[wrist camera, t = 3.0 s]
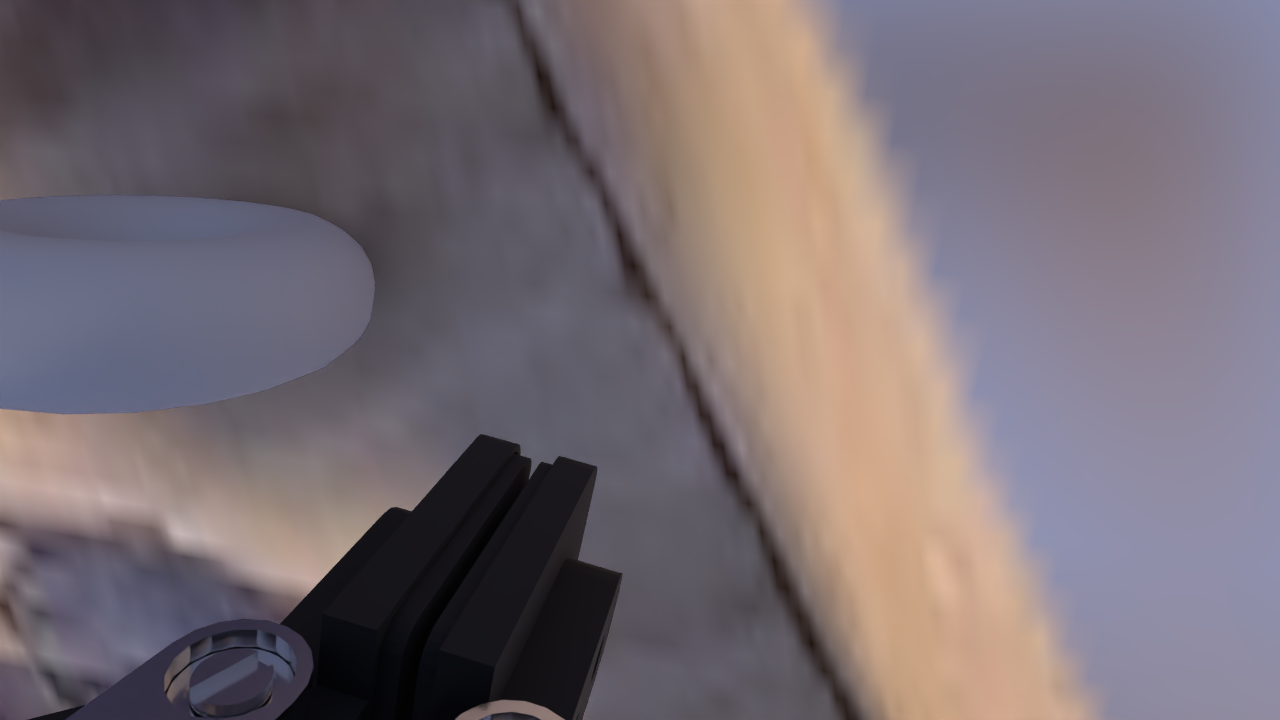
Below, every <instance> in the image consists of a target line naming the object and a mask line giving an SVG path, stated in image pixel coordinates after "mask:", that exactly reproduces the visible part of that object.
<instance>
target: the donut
mask: <svg viewBox="0 0 1280 720" xmlns="http://www.w3.org/2000/svg"><path fill="white" fill-rule="evenodd" d="M374 292H375V280H374V274H373V269H372V264H371V262H370V261H369V259H368V257H367V255H366V254H365V252H364V250H363V248H362V246H360V245H359V244H358V243H357V242H356V241H355V240H354V239H353V238H352V237H351V236H350V235H349V234H348V233H346V232H345V231H344V230H342V229H340V228H339V227H337V226H336V225H334V224H332V223H331V222H328V221H326V220H324V219H322V218H320V217H318V216H316V215H314V214H310V213H306V212H302V211H299V210H295V209H291V208H286V207H279V206H273V205H266V204H259V203H253V202H243V201H232V200H221V199H210V198H197V197H176V196H155V195H85V196H53V197H38V198H24V199H9V200H0V409H10V410H22V411H33V412H44V413H55V414H94V413H134V412H144V411H152V410H160V409H169V408H177V407H185V406H193V405H202V404H208V403H213V402H217V401H221V400H226V399H230V398H235V397H239V396H243V395H248V394H252V393H257V392H261V391H265V390H268V389H270V388H273V387H275V386H278V385H281V384H283V383H286V382H288V381H291V380H294V379H296V378H299V377H301V376H304V375H307V374H309V373H312V372H314V371H317V370H320V369H322V368H324V367H325V366H326V365H328V364H329V363H330V362H332V361H333V360H334V359H336V358H337V357H338V356H340V355H341V354H342V353H344V352H345V351H346V350H347V349H348V348H350V347H351V346H352V345H353V344H354V343H355V342H356V341H357V340H358V339H360V338H361V336H362V334H363V333H364V331H365V329H366V327H367V325H368V323H369V322H370V320H371V314H372V307H373V301H374Z"/></svg>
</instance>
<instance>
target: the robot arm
mask: <svg viewBox="0 0 1280 720" xmlns="http://www.w3.org/2000/svg"><path fill="white" fill-rule="evenodd" d="M530 470H531V459H530V458H527V457H523V456H520V445H519V444H515V443H512V442H508V441H505V440H501V439H497V438H494V437H490V436H487V435H483V434H481V435H479V436H478V437H477V438H476V439H475V440H474V442H473V443H472V444H471V445H470V446H469V447H468V448H467V449H466V451H465V452H464V453H463V454H462V455H461V456H460V457H459V459H458V460H457V461H456V462H455V463H454V464H453V465H452V467H451V468H450V469H449V470H448V471H447V472H446V473H445V475H444V476H443V477H442V478H441V479H440V480H439V481H438V482H437V484H436V485H435V486H434V487H433V488H432V489H431V490H430V492H429V493H428V494H427V495H426V496H425V497H424V498H423V500H422V501H421V502H420V503H419V504H418V505H417V506H416V508H415V509H414V510H413V511H412V512H411V511H408V510H405V509H401V508H398V507H394V508H390V509H389V510H388V511H387V512H385V513H384V514H383V515H382V516H381V517H380V518H379V519H378V520H377V521H376V523H375V524H374V525H373V526H372V527H371V528H370V529H369V530H368V531H367V532H366V533H365V534H364V535H363V536H362V537H361V538H360V540H359V541H358V542H357V543H356V544H355V545H354V546H353V547H352V548H351V549H350V550H349V551H348V552H347V553H346V554H345V555H344V557H343V558H342V559H341V560H340V561H339V562H338V563H337V564H336V565H335V566H334V567H333V568H332V569H331V570H330V571H329V573H328V574H327V575H326V576H325V577H324V578H323V579H322V580H321V581H320V582H319V583H318V584H317V585H316V586H315V587H314V588H313V590H312V591H311V592H310V593H309V594H308V595H307V596H306V597H305V598H304V599H303V600H302V601H301V602H300V603H299V604H298V605H297V607H296V608H295V609H294V610H293V611H292V612H291V613H290V614H289V615H288V616H287V617H286V618H285V619H284V620H283V621H282V622H281V624H278V623H274V622H271V621H268V620H255V619H238V620H231V621H223V622H218V623H215V624H212V625H209V626H206V627H203V628H199V629H196V630H194V631H192V632H191V633H189V634H187V635H185V636H183V637H182V638H180V639H178V640H176V641H175V642H173V643H172V644H170V645H169V646H167V647H166V648H165V649H163V650H162V651H160V652H159V653H158V654H156V655H155V656H153V657H152V658H151V659H149V660H148V661H146V662H145V663H144V664H142V665H141V666H139V667H138V668H137V669H135V670H134V671H132V672H131V673H130V674H128V675H127V676H125V677H124V678H123V679H121V680H120V681H118V682H117V683H116V684H114V685H113V686H111V687H110V688H109V689H107V690H106V691H104V692H103V693H102V694H100V695H99V696H97V697H96V698H95V699H93V700H92V701H90V702H89V703H88V704H86V705H83V706H79V707H76V708H72V709H68V710H64V711H60V712H56V713H52V714H48V715H44V716H40V717H36V718H32V719H28V720H582V718H583V715H584V712H585V709H586V706H587V703H588V699H589V696H590V693H591V690H592V687H593V684H594V681H595V677H596V674H597V671H598V667H599V664H600V661H601V657H602V654H603V650H604V647H605V643H606V639H607V636H608V632H609V628H610V624H611V621H612V617H613V613H614V609H615V605H616V601H617V597H618V593H619V588H620V584H621V580H622V573H618V572H615V571H612V570H608V569H605V568H601V567H598V566H595V565H591V564H588V563H584V562H581V561H578V556H579V552H580V547H581V543H582V538H583V534H584V529H585V525H586V520H587V516H588V511H589V507H590V502H591V498H592V493H593V489H594V484H595V480H596V475H597V467H596V466H593V465H589V464H586V463H582V462H579V461H575V460H572V459H568V458H565V457H561V456H559V457H558V458H557V459H556V461H555V462H554V464H553V465H551V464H548V463H544V462H541V463H540V464H539V465H538V467H537V468H536V470H535V472H534V473H533V475H532V476H531V478H530V479H529V475H530Z"/></svg>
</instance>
